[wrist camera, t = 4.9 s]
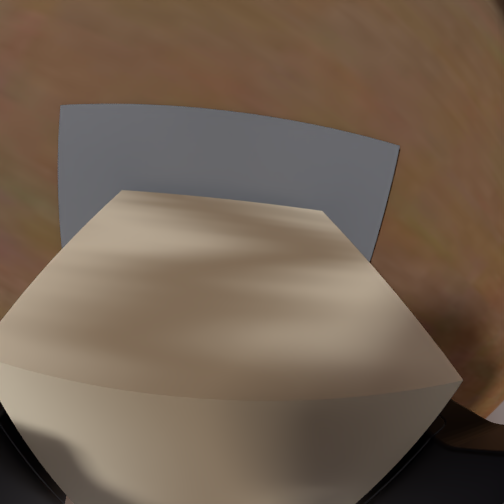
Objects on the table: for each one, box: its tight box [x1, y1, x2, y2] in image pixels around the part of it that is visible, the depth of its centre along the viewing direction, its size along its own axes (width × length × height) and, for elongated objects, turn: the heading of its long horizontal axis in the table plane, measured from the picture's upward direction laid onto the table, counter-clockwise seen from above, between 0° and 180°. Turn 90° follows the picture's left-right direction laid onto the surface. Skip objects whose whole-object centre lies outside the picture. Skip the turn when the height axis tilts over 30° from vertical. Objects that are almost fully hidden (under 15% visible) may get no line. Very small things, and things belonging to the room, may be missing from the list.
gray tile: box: [58, 104, 400, 263], centre depth 11 cm, size 11×11×1 cm
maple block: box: [0, 190, 463, 504], centre depth 7 cm, size 6×6×7 cm
